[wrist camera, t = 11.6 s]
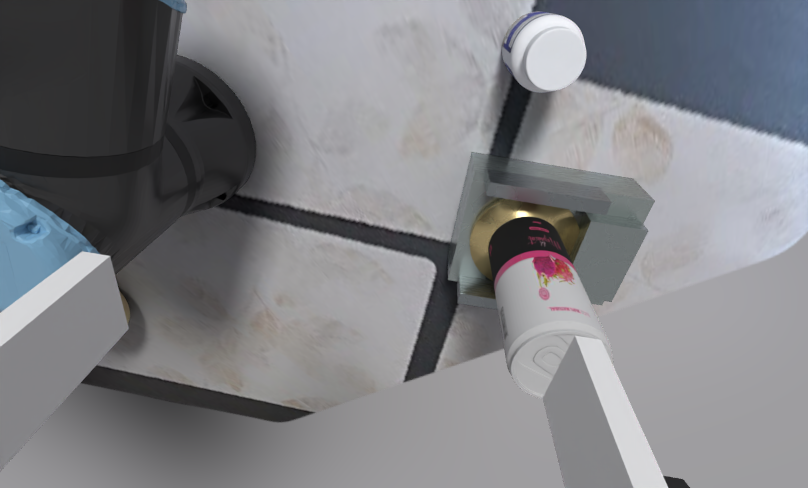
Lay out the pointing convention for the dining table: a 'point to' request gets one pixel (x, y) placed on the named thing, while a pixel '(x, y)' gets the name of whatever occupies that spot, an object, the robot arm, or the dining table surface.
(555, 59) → the pill bottle
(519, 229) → the beverage can
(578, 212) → the brass dish housing
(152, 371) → the dining table surface
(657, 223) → the dining table surface
